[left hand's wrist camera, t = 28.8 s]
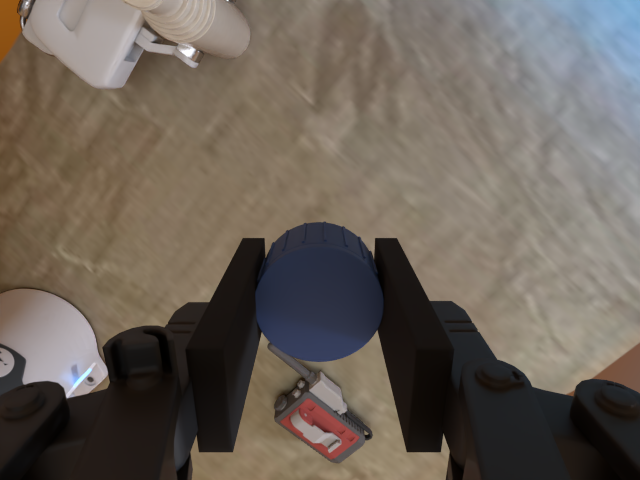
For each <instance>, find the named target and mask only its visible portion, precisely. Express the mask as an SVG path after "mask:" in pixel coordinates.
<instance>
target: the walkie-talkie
mask: <svg viewBox="0 0 640 480" xmlns="http://www.w3.org/2000/svg"><path fill="white" fill-rule="evenodd" d="M268 349H269V350H270V351H271V352H273V353H274V354H275V355H276V356H278V357H279V358H280V359H281V360H283V361H284V362H285V363H286V364H288V365H289V366H290V367H292V368H293V369H294V370H295V371H297V372H298V373H299V374H300V375H302V376H303V377H304V379H305V381H302V380H300V381H299V382H298V387H296V388H295V389H294V390H293V391H292V392H291V393H289V394H288V395H287V396H285V395H281V396H280V397H279V398H278V399H277V401H276V402H275V405H274V409H275V417H274V419H275V422H277V423H278V424H279V425H281V426H282V427H283V428H285V429H286V430H288V431H289V432H290V433H292V434H293V435H294V436H296V437H297V438H298V439H301V441H303V442H304V443H306V444H307V445H308V446H310V447H311V448H313V449H314V450H316V452H318V453H319V454H321V455H322V456H324V457H325V458H327V459H328V460H329V461H330V462H333V463H340V462H342V461H343V460H344V459H346V458H347V457H348V456H350V455H351V454H352V453H354V452H355V451H356V450H358V449H359V448H360V447H361V446H363V444H364V443H365V440H369V439H371V438H372V431H371V430H370V428H368V427H367V426H366V425H364V424H363V422H362V421H361V420H359V419H358V418H357V417H355V416H354V415H353V414H352V413H350V412H349V410H348V409H347V404H346V403H344V402H343V400H342V394H341V389H340V388H339V387H338V386H337V385H335V384H334V383H333V382H332V381H330V380H329V379H328V378H327V377H325V375H324V374H323V373H322V372H321V371H320V372H319V373H317V374H315V373H313V372H312V371H309V370H308V369H306V368H305V367H304V366H303V365H301V364H300V363H299V362H298V361H296V360H295V359H294V358H293V357H291V356H290V355H287V354H286V353H284V352H282V351H280V350H279V349H278V348H276V347H275V346H274V345H273V344H272V343H271V342H270V343H269V344H268ZM364 430H365V431H366V432H368V433H369V434H368V435H364Z"/></svg>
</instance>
